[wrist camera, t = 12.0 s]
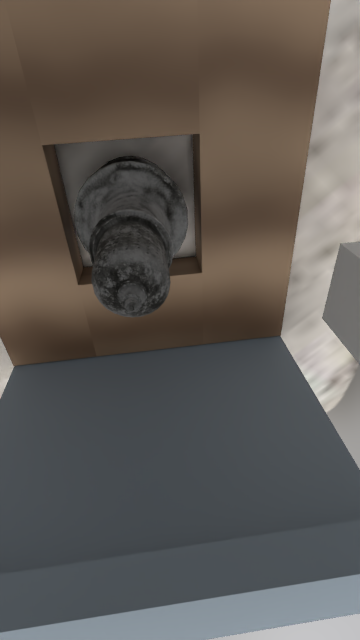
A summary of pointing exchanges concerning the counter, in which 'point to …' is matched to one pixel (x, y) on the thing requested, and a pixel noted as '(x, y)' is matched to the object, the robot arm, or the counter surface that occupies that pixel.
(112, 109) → the socket block
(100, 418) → the grey upright panel
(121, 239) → the dark grey chess piece
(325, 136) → the counter surface
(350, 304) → the robot arm
